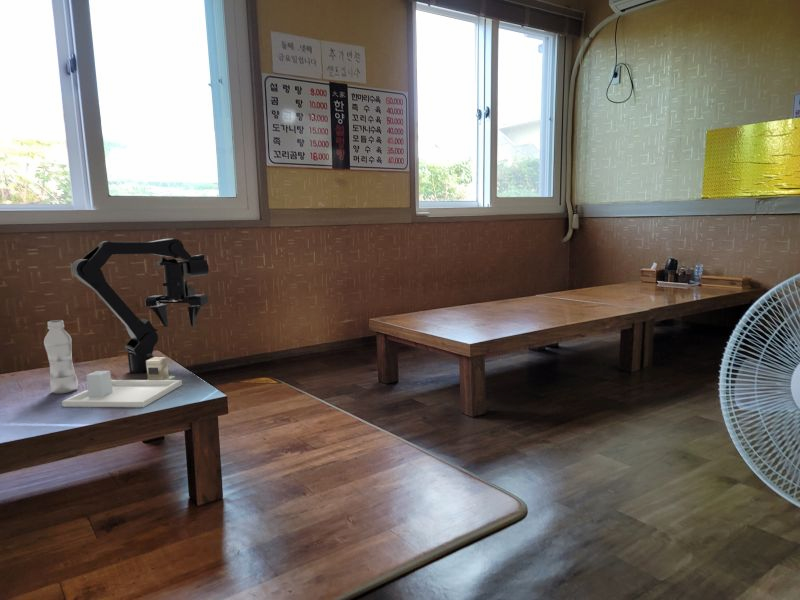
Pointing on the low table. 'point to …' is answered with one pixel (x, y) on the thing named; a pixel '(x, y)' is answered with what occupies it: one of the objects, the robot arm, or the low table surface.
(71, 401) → the tray
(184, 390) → the low table surface
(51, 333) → the plastic bottle
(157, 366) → the labelled block
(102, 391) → the plain block
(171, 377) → the mat
